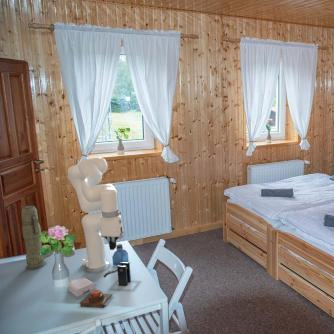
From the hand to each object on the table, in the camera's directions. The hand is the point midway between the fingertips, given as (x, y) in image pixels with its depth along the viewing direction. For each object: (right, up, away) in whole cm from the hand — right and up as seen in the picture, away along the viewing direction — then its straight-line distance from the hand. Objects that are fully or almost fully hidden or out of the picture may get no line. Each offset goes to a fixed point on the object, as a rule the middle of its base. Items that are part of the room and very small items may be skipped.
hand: (112, 248), depth 190 cm
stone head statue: (-54, -16, +30) cm, 64 cm away
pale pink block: (-18, -22, +3) cm, 28 cm away
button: (-5, -20, -9) cm, 22 cm away
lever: (0, -13, +6) cm, 15 cm away
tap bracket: (+4, -20, +7) cm, 22 cm away
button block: (-5, -24, -8) cm, 25 cm away
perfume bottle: (-6, -16, +30) cm, 34 cm away
